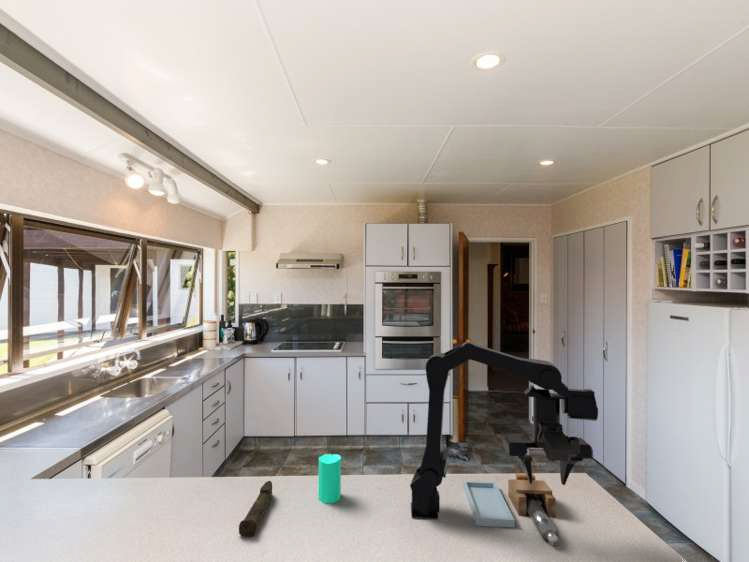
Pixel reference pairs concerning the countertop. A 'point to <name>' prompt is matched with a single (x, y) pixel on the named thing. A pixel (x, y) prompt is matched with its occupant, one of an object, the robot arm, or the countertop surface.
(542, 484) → the socket block
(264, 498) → the dark brown rod
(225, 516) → the countertop surface
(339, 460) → the candle
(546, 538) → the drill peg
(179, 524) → the countertop surface
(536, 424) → the robot arm
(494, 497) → the tray
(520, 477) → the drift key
